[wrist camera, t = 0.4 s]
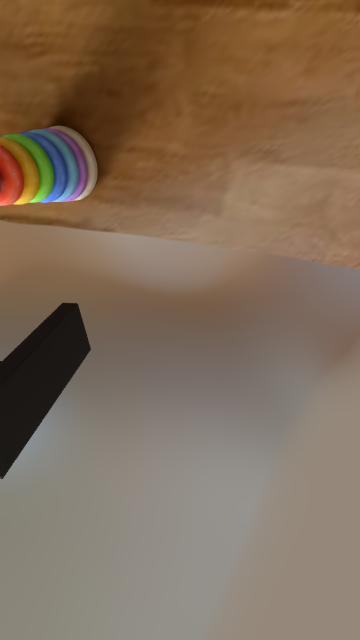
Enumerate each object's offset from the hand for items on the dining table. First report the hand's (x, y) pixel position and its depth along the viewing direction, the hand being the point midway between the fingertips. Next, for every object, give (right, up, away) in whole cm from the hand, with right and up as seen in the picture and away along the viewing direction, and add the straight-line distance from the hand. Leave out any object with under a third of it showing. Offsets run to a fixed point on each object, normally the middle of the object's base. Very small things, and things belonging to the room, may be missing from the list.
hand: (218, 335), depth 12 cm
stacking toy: (-15, +20, +23) cm, 34 cm away
